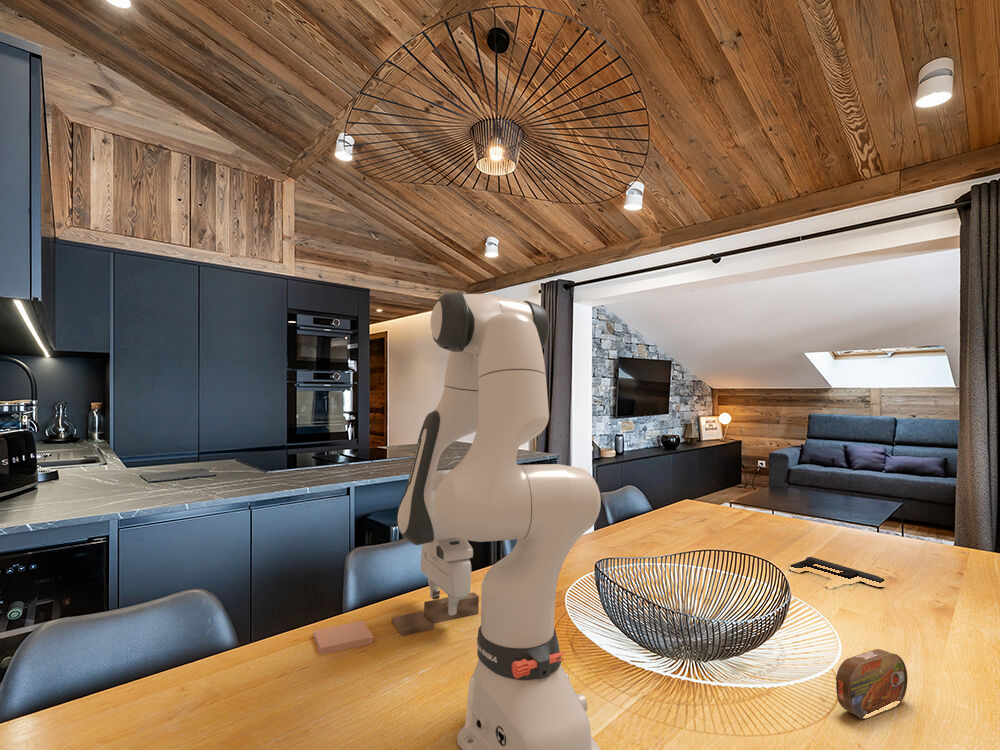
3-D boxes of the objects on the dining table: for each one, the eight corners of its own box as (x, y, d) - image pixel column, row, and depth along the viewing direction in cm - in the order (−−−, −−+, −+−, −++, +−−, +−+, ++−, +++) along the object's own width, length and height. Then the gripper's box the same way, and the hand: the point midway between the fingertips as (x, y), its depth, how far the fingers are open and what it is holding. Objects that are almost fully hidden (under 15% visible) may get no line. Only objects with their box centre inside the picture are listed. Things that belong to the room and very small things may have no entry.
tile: (373, 636, 100) (320, 648, 95) (373, 645, 100) (320, 657, 95) (363, 620, 107) (313, 630, 102) (362, 628, 107) (313, 639, 102)
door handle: (855, 590, 127) (887, 575, 135) (778, 565, 144) (810, 553, 152) (855, 603, 127) (888, 588, 135) (778, 577, 144) (811, 564, 152)
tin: (851, 725, 78) (851, 669, 78) (831, 713, 81) (831, 659, 81) (910, 702, 84) (909, 651, 84) (889, 692, 87) (888, 642, 87)
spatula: (469, 606, 118) (469, 588, 118) (482, 618, 112) (483, 600, 112) (391, 622, 109) (392, 603, 110) (401, 636, 103) (401, 616, 103)
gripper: (414, 532, 119) (413, 592, 118) (448, 556, 101) (447, 627, 100) (439, 529, 122) (438, 587, 121) (476, 551, 104) (476, 620, 103)
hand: (442, 605), depth 111 cm, fingers open, 8 cm apart
